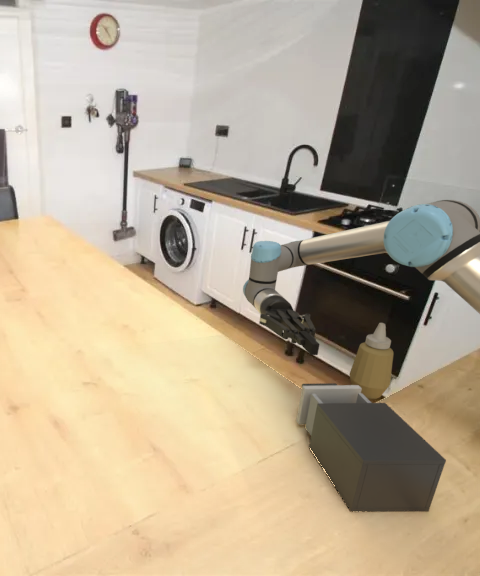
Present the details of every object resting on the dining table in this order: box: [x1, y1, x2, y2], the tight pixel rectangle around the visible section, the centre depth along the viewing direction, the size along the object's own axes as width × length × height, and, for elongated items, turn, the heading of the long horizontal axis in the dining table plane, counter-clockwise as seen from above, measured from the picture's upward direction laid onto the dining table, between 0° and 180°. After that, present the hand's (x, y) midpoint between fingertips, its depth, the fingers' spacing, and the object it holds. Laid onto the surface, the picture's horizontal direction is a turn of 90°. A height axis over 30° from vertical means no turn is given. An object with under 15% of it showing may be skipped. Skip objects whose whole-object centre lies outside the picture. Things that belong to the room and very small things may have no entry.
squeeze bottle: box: [349, 322, 395, 400], centre depth 94 cm, size 8×8×18 cm
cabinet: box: [308, 402, 447, 513], centre depth 72 cm, size 15×13×11 cm
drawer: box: [295, 382, 372, 436], centre depth 81 cm, size 18×11×9 cm, turn 179°
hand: (315, 349), depth 90 cm, fingers closed
